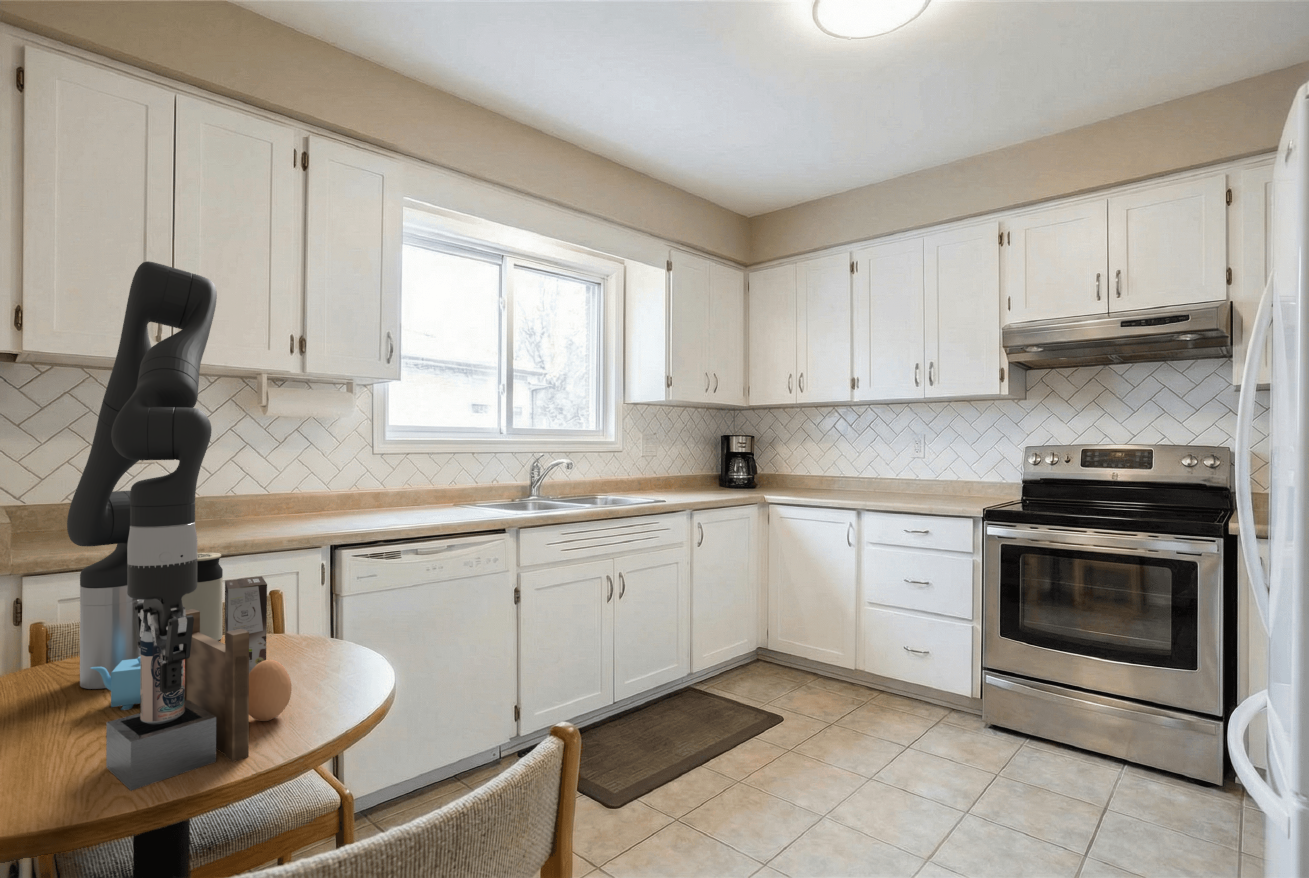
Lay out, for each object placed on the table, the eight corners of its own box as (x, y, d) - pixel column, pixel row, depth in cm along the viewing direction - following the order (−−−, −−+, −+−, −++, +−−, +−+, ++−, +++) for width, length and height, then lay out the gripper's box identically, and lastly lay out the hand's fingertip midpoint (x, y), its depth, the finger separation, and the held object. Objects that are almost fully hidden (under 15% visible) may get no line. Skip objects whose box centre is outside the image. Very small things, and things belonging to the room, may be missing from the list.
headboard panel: (178, 724, 103) (178, 611, 103) (193, 720, 104) (193, 608, 104) (232, 761, 91) (233, 635, 91) (248, 756, 93) (249, 631, 93)
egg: (272, 707, 109) (273, 650, 109) (301, 715, 107) (301, 657, 106) (232, 723, 103) (232, 663, 103) (260, 732, 101) (260, 670, 100)
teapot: (83, 716, 105) (83, 668, 105) (95, 702, 111) (96, 656, 111) (177, 704, 111) (177, 657, 111) (184, 691, 116) (184, 647, 116)
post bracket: (106, 767, 90) (106, 721, 90) (188, 741, 97) (188, 699, 97) (130, 790, 84) (131, 742, 84) (216, 761, 92) (216, 716, 91)
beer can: (161, 728, 88) (161, 634, 88) (130, 724, 89) (130, 632, 89) (193, 713, 92) (194, 624, 92) (164, 709, 93) (164, 622, 93)
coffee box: (267, 671, 126) (268, 584, 125) (226, 678, 122) (226, 588, 122) (263, 657, 133) (263, 575, 133) (224, 663, 130) (224, 578, 129)
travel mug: (187, 650, 137) (187, 560, 137) (169, 643, 142) (169, 556, 141) (229, 640, 144) (229, 554, 144) (211, 633, 148) (211, 550, 148)
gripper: (217, 560, 89) (217, 690, 89) (175, 548, 98) (175, 667, 98) (148, 569, 83) (148, 709, 83) (110, 555, 92) (110, 682, 92)
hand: (162, 685), depth 91 cm, fingers closed on beer can, 4 cm apart
